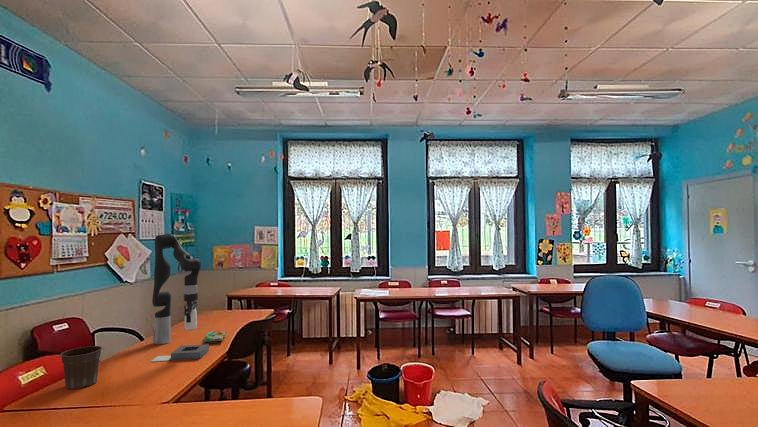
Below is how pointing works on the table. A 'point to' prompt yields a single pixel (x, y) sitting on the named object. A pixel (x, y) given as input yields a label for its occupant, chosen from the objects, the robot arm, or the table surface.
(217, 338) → the puzzle game
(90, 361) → the plant pot
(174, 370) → the table surface
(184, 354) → the hollow block
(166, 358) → the mat
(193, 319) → the can
